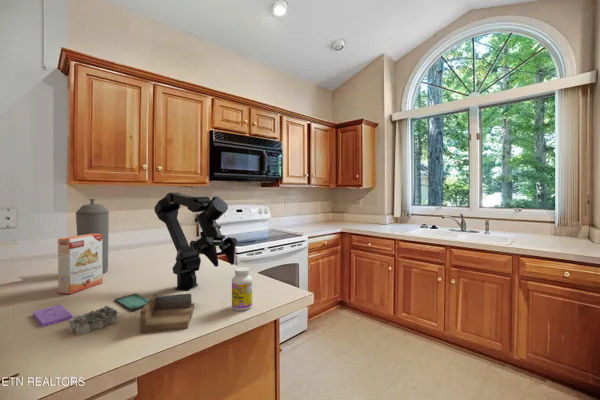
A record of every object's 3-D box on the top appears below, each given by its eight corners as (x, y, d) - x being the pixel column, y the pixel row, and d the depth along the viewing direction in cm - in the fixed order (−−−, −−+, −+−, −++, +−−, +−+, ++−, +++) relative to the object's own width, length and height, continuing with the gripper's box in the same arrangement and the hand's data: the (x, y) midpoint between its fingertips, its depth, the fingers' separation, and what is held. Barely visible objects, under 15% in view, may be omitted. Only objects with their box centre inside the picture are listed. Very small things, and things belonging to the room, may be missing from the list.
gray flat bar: (157, 308, 87) (157, 296, 87) (191, 305, 89) (191, 293, 89) (156, 310, 86) (156, 297, 86) (191, 307, 88) (190, 294, 88)
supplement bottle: (227, 309, 92) (227, 270, 91) (240, 302, 98) (240, 265, 97) (243, 313, 89) (243, 272, 88) (256, 305, 95) (256, 267, 94)
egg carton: (78, 338, 74) (77, 322, 74) (66, 330, 78) (65, 316, 78) (121, 321, 83) (120, 308, 83) (108, 315, 87) (108, 302, 87)
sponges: (61, 309, 93) (61, 304, 93) (73, 320, 85) (73, 314, 85) (32, 317, 87) (32, 311, 87) (42, 329, 80) (42, 322, 79)
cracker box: (70, 295, 104) (69, 239, 104) (57, 293, 106) (56, 238, 105) (104, 283, 118) (103, 233, 117) (92, 282, 119) (91, 233, 119)
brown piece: (154, 313, 89) (153, 294, 89) (194, 309, 92) (193, 291, 91) (140, 333, 76) (140, 311, 76) (187, 328, 79) (187, 307, 79)
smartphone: (135, 292, 104) (154, 302, 95) (135, 296, 104) (154, 305, 95) (113, 298, 99) (130, 309, 89) (113, 302, 99) (131, 313, 89)
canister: (115, 271, 135) (113, 198, 134) (83, 278, 124) (82, 199, 123) (102, 267, 141) (101, 198, 140) (72, 274, 131) (70, 198, 130)
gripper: (209, 238, 113) (223, 273, 108) (173, 236, 96) (189, 279, 91) (230, 224, 110) (246, 259, 106) (198, 220, 93) (215, 262, 88)
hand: (225, 265), depth 98 cm, fingers open, 9 cm apart
